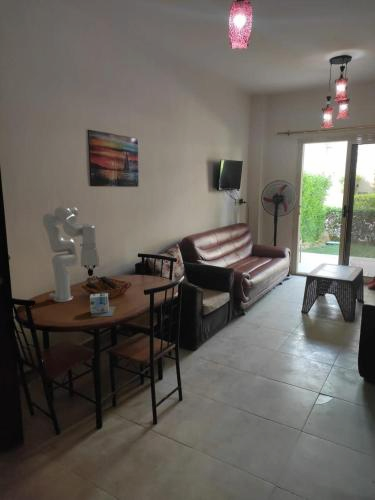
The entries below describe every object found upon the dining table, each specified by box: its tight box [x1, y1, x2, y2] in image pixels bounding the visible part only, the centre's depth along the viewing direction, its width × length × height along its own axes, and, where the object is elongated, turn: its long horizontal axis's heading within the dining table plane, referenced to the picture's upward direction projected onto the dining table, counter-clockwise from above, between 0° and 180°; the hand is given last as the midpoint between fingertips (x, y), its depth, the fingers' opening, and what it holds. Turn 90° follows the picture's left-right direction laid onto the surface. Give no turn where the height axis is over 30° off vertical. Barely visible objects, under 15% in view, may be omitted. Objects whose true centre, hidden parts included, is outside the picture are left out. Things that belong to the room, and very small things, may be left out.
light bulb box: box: [89, 292, 110, 314], centre depth 219 cm, size 11×7×11 cm
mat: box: [91, 306, 116, 318], centre depth 220 cm, size 12×16×1 cm
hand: (90, 275), depth 214 cm, fingers closed
